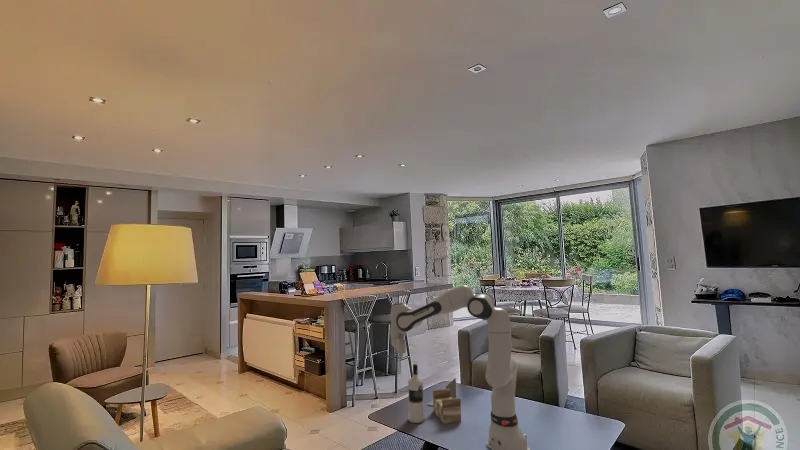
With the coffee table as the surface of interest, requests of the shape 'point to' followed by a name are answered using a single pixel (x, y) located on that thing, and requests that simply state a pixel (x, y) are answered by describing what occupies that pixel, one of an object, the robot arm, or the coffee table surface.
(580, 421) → the coffee table surface
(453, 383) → the laptop
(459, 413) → the cradle
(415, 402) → the vodka
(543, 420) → the coffee table surface
